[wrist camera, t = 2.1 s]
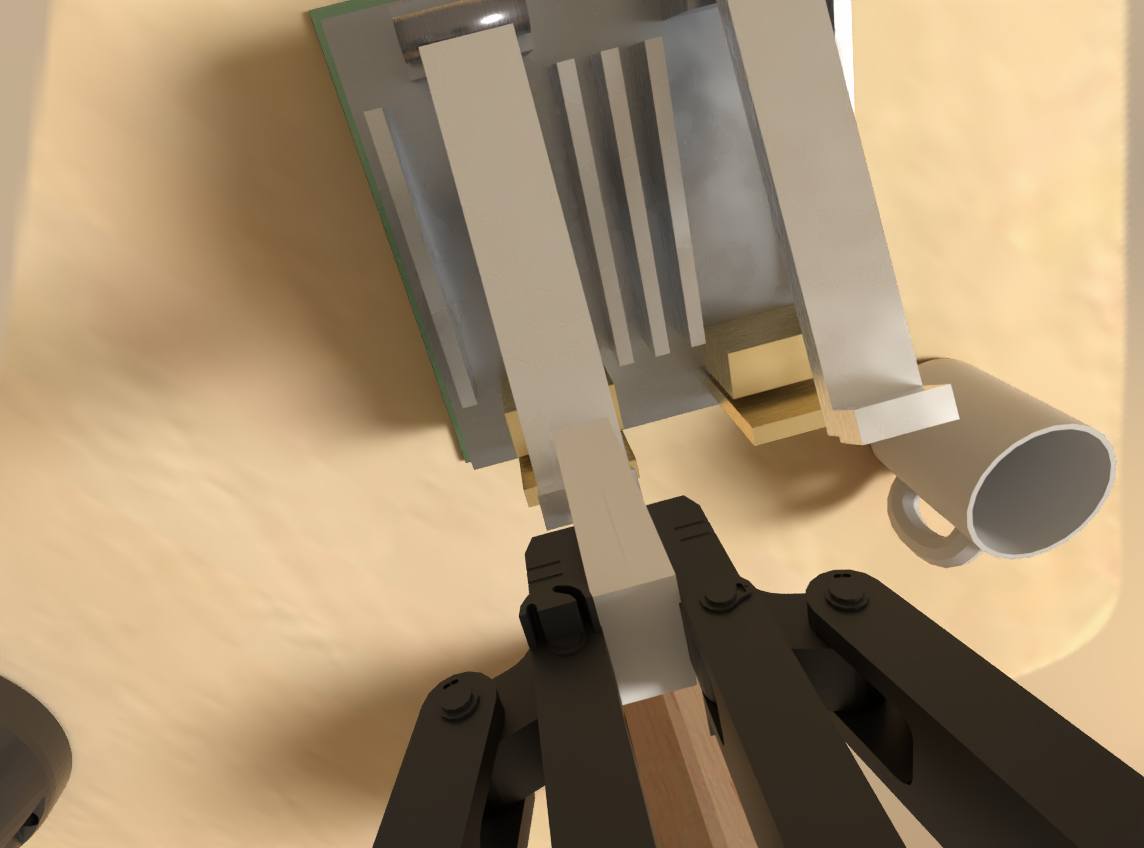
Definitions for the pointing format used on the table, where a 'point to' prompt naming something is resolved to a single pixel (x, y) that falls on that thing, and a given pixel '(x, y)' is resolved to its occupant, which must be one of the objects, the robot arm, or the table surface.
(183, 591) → the table surface
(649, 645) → the robot arm
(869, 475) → the table surface
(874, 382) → the silver long flat bar
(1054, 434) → the cup
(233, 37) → the table surface
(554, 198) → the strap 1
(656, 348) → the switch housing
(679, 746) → the wooden block
